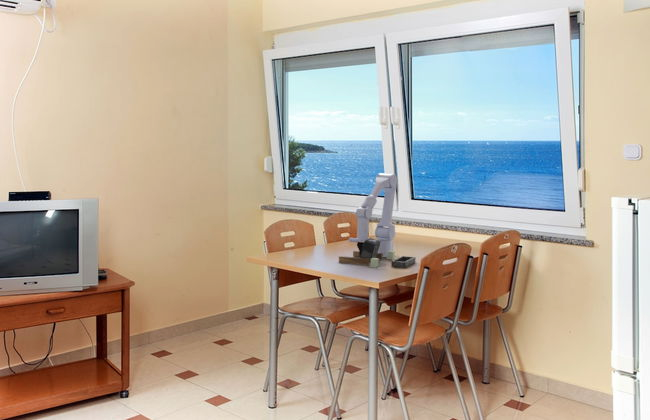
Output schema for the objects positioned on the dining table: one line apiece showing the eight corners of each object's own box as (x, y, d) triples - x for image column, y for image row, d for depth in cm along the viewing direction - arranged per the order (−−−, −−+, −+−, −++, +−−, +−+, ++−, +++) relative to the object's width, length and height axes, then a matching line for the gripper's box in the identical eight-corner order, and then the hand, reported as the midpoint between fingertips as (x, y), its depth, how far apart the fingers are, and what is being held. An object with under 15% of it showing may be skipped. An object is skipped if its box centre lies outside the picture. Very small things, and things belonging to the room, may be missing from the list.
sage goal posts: (389, 258, 333) (389, 250, 332) (394, 258, 331) (394, 251, 331) (370, 266, 309) (370, 258, 309) (376, 267, 308) (376, 259, 308)
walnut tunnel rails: (354, 256, 338) (354, 250, 338) (382, 258, 331) (382, 253, 331) (338, 262, 320) (338, 256, 320) (368, 265, 313) (368, 259, 313)
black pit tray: (402, 261, 324) (402, 256, 324) (415, 262, 321) (415, 257, 321) (391, 266, 310) (391, 261, 310) (405, 268, 307) (405, 262, 307)
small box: (364, 256, 329) (369, 237, 327) (376, 260, 327) (381, 241, 325) (358, 259, 319) (364, 240, 317) (370, 263, 317) (376, 244, 315)
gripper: (346, 230, 323) (345, 256, 324) (373, 232, 316) (371, 259, 317) (352, 229, 329) (351, 254, 330) (378, 231, 322) (376, 258, 323)
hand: (361, 257), depth 324 cm, fingers closed, pressing on small box
